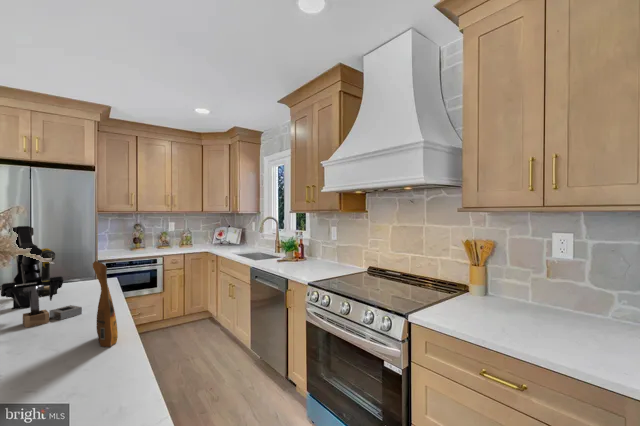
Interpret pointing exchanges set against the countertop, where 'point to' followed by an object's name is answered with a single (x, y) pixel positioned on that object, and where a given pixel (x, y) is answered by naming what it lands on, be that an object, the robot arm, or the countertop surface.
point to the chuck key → (34, 298)
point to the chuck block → (65, 312)
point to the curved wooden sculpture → (105, 310)
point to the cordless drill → (46, 271)
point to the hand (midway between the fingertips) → (36, 302)
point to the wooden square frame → (35, 318)
